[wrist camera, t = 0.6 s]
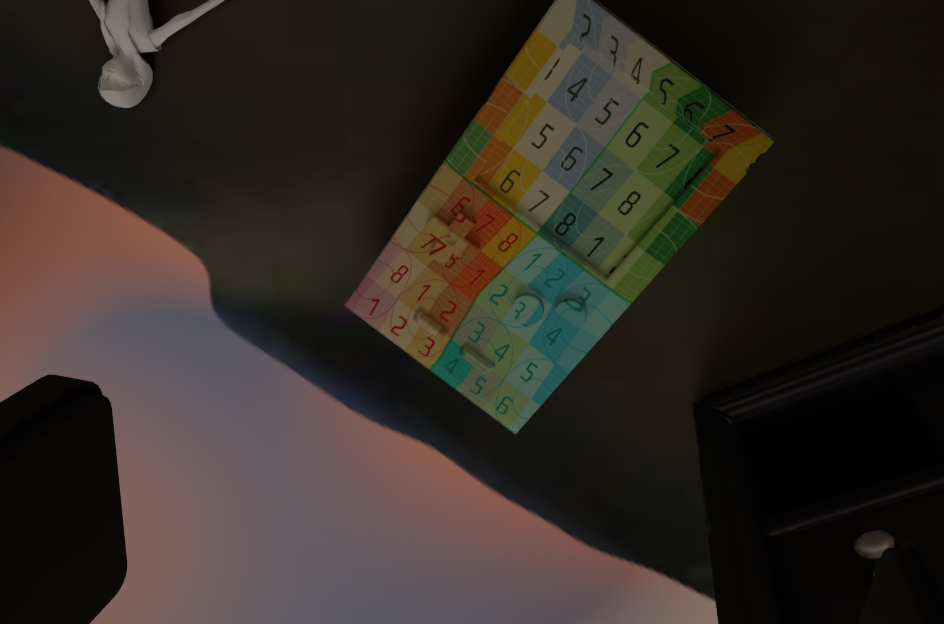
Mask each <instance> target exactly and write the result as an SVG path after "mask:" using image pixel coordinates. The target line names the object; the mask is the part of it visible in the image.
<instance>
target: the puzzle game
mask: <svg viewBox="0 0 944 624" xmlns="http://www.w3.org/2000/svg"><path fill="white" fill-rule="evenodd" d="M774 142H775V139H774V138H773V137H771V136H770V135H769V134H768V133H766V132H765V131H764V130H762V129H761V128H760V127H759V126H757V125H756V124H755V123H753V122H752V121H751V120H750V119H748V118H747V117H746V116H744V115H743V114H742V113H741V112H739V111H738V110H737V109H735V108H734V107H733V106H732V105H730V104H729V103H728V102H726V101H725V100H724V99H723V98H721V97H720V96H719V95H717V94H716V93H715V92H714V91H712V90H711V89H710V88H708V87H707V86H706V85H705V84H703V83H702V82H701V81H700V80H698V79H697V78H696V77H694V76H693V75H692V74H691V73H689V72H688V71H687V70H685V69H684V68H683V67H682V66H680V65H679V64H678V63H676V62H675V61H674V60H673V59H671V58H670V57H669V56H667V55H666V54H665V53H664V52H662V51H661V50H660V49H658V48H657V47H656V46H655V45H653V44H652V43H651V42H649V41H648V40H647V39H646V38H644V37H643V36H642V35H640V34H639V33H638V32H637V31H635V30H634V29H633V28H631V27H630V26H629V25H628V24H626V23H625V22H624V21H622V20H621V19H620V18H619V17H617V16H616V15H615V14H614V13H612V12H611V11H610V10H608V9H607V8H606V7H605V6H603V5H602V4H601V3H599V2H598V1H597V0H555V1H554V2H553V4H552V5H551V7H550V8H549V9H548V11H547V12H546V14H545V15H544V17H543V18H542V20H541V21H540V22H539V24H538V25H537V27H536V28H535V30H534V31H533V33H532V34H531V36H530V37H529V38H528V40H527V41H526V43H525V44H524V46H523V47H522V49H521V50H520V51H519V53H518V54H517V56H516V57H515V59H514V60H513V62H512V63H511V65H510V66H509V67H508V69H507V70H506V72H505V73H504V75H503V76H502V78H501V79H500V80H499V82H498V83H497V85H496V86H495V88H494V89H493V91H492V92H491V94H490V95H489V96H488V98H487V99H486V101H485V102H484V104H483V105H482V107H481V108H480V109H479V111H478V112H477V114H476V115H475V117H474V118H473V120H472V121H471V123H470V124H469V125H468V127H467V128H466V130H465V131H464V133H463V134H462V136H461V137H460V138H459V140H458V141H457V143H456V144H455V146H454V147H453V149H452V150H451V152H450V153H449V154H448V156H447V157H446V159H445V160H444V162H443V163H442V165H441V166H440V167H439V169H438V170H437V172H436V173H435V175H434V176H433V178H432V179H431V181H430V182H429V183H428V185H427V186H426V188H425V189H424V191H423V192H422V194H421V195H420V196H419V198H418V199H417V201H416V202H415V204H414V205H413V207H412V208H411V210H410V211H409V212H408V214H407V215H406V217H405V218H404V220H403V221H402V223H401V224H400V225H399V227H398V228H397V230H396V231H395V233H394V234H393V236H392V237H391V239H390V240H389V241H388V243H387V244H386V246H385V247H384V249H383V250H382V252H381V253H380V254H379V256H378V257H377V259H376V260H375V262H374V263H373V265H372V266H371V267H370V269H369V270H368V272H367V273H366V275H365V276H364V278H363V279H362V281H361V282H360V283H359V285H358V286H357V288H356V289H355V291H354V292H353V294H352V295H351V296H350V298H349V299H348V301H347V302H346V304H345V305H344V306H345V307H346V308H347V309H349V310H350V311H351V312H352V313H354V314H355V315H356V316H358V317H359V318H360V319H362V320H363V321H364V322H366V323H367V324H368V325H370V326H371V327H372V328H374V329H375V330H376V331H378V332H379V333H380V334H382V335H383V336H384V337H386V338H387V339H388V340H390V341H391V342H392V343H394V344H395V345H396V346H398V347H399V348H400V349H402V350H403V351H404V352H406V353H407V354H408V355H410V356H411V357H412V358H414V359H415V360H416V361H418V362H419V363H420V364H422V365H423V366H424V367H426V368H427V369H428V370H430V371H431V372H432V373H434V374H435V375H436V376H438V377H439V378H440V379H442V380H443V381H444V382H446V383H447V384H448V385H450V386H451V387H452V388H454V389H455V390H456V391H458V392H459V393H460V394H462V395H463V396H464V397H466V398H467V399H468V400H469V401H471V402H472V403H473V404H475V405H476V406H477V407H479V408H480V409H481V410H483V411H484V412H485V413H487V414H488V415H489V416H491V417H492V418H493V419H495V420H496V421H497V422H499V423H500V424H501V425H503V426H504V427H505V428H507V429H508V430H509V431H511V432H512V433H513V434H516V433H517V432H518V431H519V430H520V429H521V427H522V426H523V425H524V424H525V423H526V422H527V421H528V420H529V418H530V417H531V416H532V415H533V414H534V413H535V412H536V411H537V409H538V408H539V407H540V406H541V405H542V404H543V403H544V401H545V400H546V399H547V398H548V397H549V396H550V395H551V394H552V392H553V391H554V390H555V389H556V388H557V387H558V386H559V385H560V383H561V382H562V381H563V380H564V379H565V378H566V377H567V375H568V374H569V373H570V372H571V371H572V370H573V369H574V368H575V366H576V365H577V364H578V363H579V362H580V361H581V360H582V359H583V357H584V356H585V355H586V354H587V353H588V352H589V351H590V349H591V348H592V347H593V346H594V345H595V344H596V343H597V342H598V340H599V339H600V338H601V337H602V336H603V335H604V334H605V333H606V331H607V330H608V329H609V328H610V327H611V326H612V325H613V323H614V322H615V321H616V320H617V319H618V318H619V317H620V316H621V314H622V313H623V312H624V311H625V310H626V309H627V308H628V307H629V305H630V304H631V303H632V302H633V301H634V300H635V299H636V298H637V296H638V295H639V294H640V293H641V292H642V291H643V290H644V288H645V287H646V286H647V285H648V284H649V283H650V282H651V281H652V279H653V278H654V277H655V276H656V275H657V274H658V273H659V272H660V270H661V269H662V268H663V267H664V266H665V265H666V264H667V262H668V261H669V260H670V259H671V258H672V257H673V256H674V255H675V253H676V252H677V251H678V250H679V249H680V248H681V247H682V246H683V244H684V243H685V242H686V241H687V240H688V239H689V238H690V236H691V235H692V234H693V233H694V232H695V231H696V230H697V229H698V227H699V226H700V225H701V224H702V223H703V222H704V221H705V220H706V218H707V217H708V216H709V215H710V214H711V213H712V212H713V211H714V209H715V208H716V207H717V206H718V205H719V204H720V203H721V201H722V200H723V199H724V198H725V197H726V196H727V195H728V194H729V192H730V191H731V190H732V189H733V188H734V187H735V186H736V185H737V183H738V182H739V181H740V180H741V179H742V178H743V177H744V175H745V174H746V173H747V172H748V171H749V170H750V169H751V168H752V166H753V165H754V164H755V163H756V162H757V161H758V160H759V159H760V157H761V156H762V155H763V154H764V153H765V152H766V151H767V149H768V148H769V147H770V146H771V145H772V144H773V143H774Z"/></svg>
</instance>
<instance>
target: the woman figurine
mask: <svg viewBox="0 0 944 624" xmlns="http://www.w3.org/2000/svg"><path fill="white" fill-rule="evenodd" d="M89 1H90V3H91V5H92V6H93V8H94V10H95V12H96V14H97V15H98V17H99V19H100V21H101V30H102V33H103V36H104V38H105V41H106V44H107V46H108V47H109V51H110V52H111V53H112V54H113V56H114V57H113V59H111V60H109V61H108V62H106V63H105V64H104V65H103V67H102V76H100V81H101V88H99V85H98V89H99V92H100V94H101V96H102V97H103V98H104V99H105V100H106V101H107V102H109V103H110V104H112V105H113V106H118V107H123V108H130V107H132V106H135V105H137V104H139V103H140V101H141V100H142V99H143V98H144V96H145V95H146V94H147V92H148V90H149V88H150V86H151V83H152V81H153V72H152V69H151V67H150V65H149V64H148V63H147V61H145V60H144V59H143V58H142V57H141V56H140V55H139V53H145V52H154V51H160V50H161V43H162V42H163V41H164V40H165V39H167V38H168V37H169V36H170V35H172V34H173V33H175V32H176V31H178V30H179V29H181V28H183V27H184V26H186V25H188V24H190V23H191V22H193V21H194V20H196V19H197V18H198V17H200V16H201V15H203V14H204V13H206V12H207V11H209V10H211V9H212V8H214V7H215V6H217V5H219V4H220V3H222V2H223V1H225V0H209V1H208V2H206V3H204V4H202V5H201V6H199V7H197V8H195V9H194V10H191V11H188V12H185V13H182V14H179V15H177V16H175V17H173V18H172V19H171V20H170V21H168V22H167V23H166V24H164V25H163V26H161V27H159V28H157V29H155V30H154V25H153V19H152V17H151V14H150V10H149V4H148V0H109V1H108V4H107V5H106V3H105V1H104V0H89ZM100 81H99V84H100Z"/></svg>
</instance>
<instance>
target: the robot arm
mask: <svg viewBox="0 0 944 624" xmlns="http://www.w3.org/2000/svg"><path fill="white" fill-rule="evenodd" d="M126 571H127V557H126V548H125V536H124V527H123V516H122V506H121V496H120V486H119V476H118V466H117V455H116V445H115V435H114V425H113V415H112V407H111V403H110V401H109V399H108V398H107V397H105V396H103V395H102V391H101V389H100V388H99V387H98V385H97V384H95V383H93V382H90V381H85V380H80V379H75V378H69V377H64V376H59V375H47V376H44V377H42V378H40V379H38V380H37V381H35V382H34V383H32V384H30V385H28V386H27V387H25V388H23V389H22V390H20V391H19V392H17V393H15V394H13V395H12V396H10V397H9V398H7V399H5V400H4V401H2V402H0V624H90V622H91V621H92V620H93V619H94V618H95V617H96V616H97V615H98V614H99V613H100V612H101V611H102V610H103V608H104V607H105V606H106V605H107V604H108V603H109V602H110V601H111V600H112V598H114V596H115V595H116V594H117V593H118V591H119V590H120V588H121V586H122V584H123V582H124V579H125V576H126ZM858 624H944V544H942V543H937V542H931V541H926V540H921V539H916V538H909V539H906V541H905V542H904V543H903V544H902V546H901V548H900V549H896V548H891V547H889V548H886V549H885V551H884V552H883V553H882V556H881V558H880V560H879V563H878V566H877V569H876V572H875V575H874V578H873V581H872V584H871V587H870V590H869V593H868V596H867V599H866V602H865V605H864V608H863V611H862V614H861V617H860V620H859V623H858Z"/></svg>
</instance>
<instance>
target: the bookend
mask: <svg viewBox="0 0 944 624" xmlns="http://www.w3.org/2000/svg"><path fill="white" fill-rule="evenodd" d="M692 407H693V408H694V413H693V417H694V420H695V428H696V435H697V443H698V450H699V462H700V472H701V480H702V489H703V497H704V505H705V514H706V523H707V531H708V539H709V548H710V556H711V565H712V573H713V582H714V591H715V601H716V608H717V616H718V623H719V624H858V623H859V620H860V617H861V614H862V611H863V608H864V605H865V602H866V599H867V596H868V593H869V590H870V587H871V584H872V581H873V578H874V575H875V572H876V569H877V566H878V563H879V560H880V558H881V556H882V553H883V552H884V551H885V549H886V548H889V547H891V548H896V549H900V548H901V546H902V544H903V543H904V542H905V541H906V539H909V538H916V539H921V540H926V541H931V542H937V543H942V544H944V311H941V312H938V313H936V314H933V315H931V316H928V317H925V318H922V319H918V320H914V321H911V322H908V323H906V324H905V325H903V326H900V327H897V328H895V329H892V330H888V331H886V332H883V333H881V334H878V335H873V336H872V337H870V338H867V339H865V340H861V341H860V342H856V343H853V344H850V345H848V346H845V347H843V348H840V349H837V350H835V351H832V352H830V353H827V354H824V355H821V356H819V357H816V358H813V359H810V360H807V361H805V362H802V363H799V364H796V365H793V366H791V367H789V368H786V369H783V370H781V371H778V372H775V373H772V374H769V375H766V376H764V377H762V378H759V379H756V380H753V381H751V382H748V383H745V384H742V385H739V386H737V387H734V388H731V389H729V390H726V391H723V392H721V393H718V394H716V395H713V396H711V397H708V398H705V399H702V400H700V401H698V402H696V403H694V404H693V406H692Z"/></svg>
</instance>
